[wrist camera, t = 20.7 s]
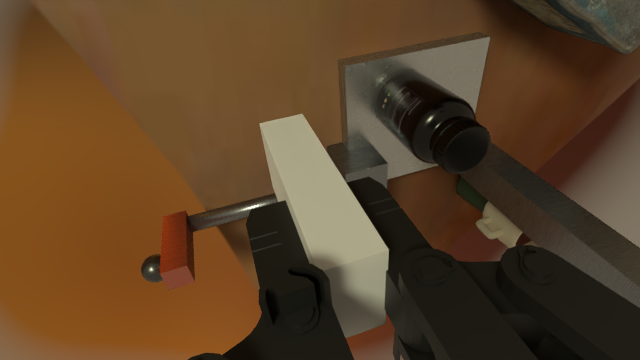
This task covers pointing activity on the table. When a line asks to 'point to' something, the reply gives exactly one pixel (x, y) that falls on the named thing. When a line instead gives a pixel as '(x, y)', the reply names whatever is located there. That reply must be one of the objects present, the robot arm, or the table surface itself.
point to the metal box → (591, 20)
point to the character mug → (493, 218)
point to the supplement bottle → (432, 122)
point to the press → (490, 174)
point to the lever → (190, 240)
